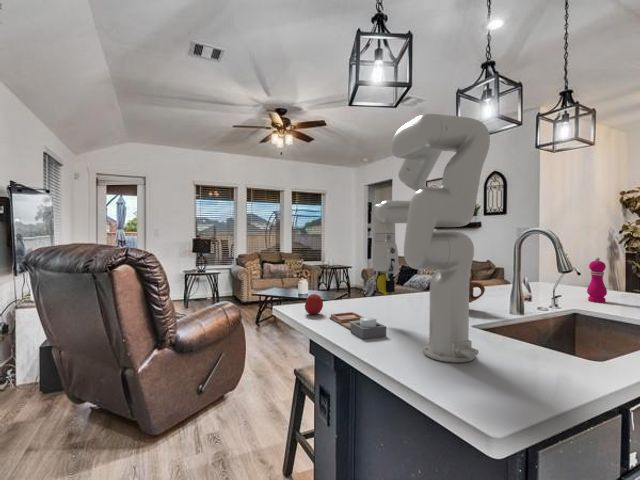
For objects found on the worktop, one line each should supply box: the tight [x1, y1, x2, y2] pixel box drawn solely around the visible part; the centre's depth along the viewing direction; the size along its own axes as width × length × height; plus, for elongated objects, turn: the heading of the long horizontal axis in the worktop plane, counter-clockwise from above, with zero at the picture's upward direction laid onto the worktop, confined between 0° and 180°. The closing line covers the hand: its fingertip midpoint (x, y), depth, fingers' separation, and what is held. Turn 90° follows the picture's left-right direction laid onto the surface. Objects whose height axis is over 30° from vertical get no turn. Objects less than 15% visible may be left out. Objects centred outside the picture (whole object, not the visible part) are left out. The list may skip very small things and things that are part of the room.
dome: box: [360, 316, 377, 328], centre depth 112 cm, size 5×5×4 cm
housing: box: [350, 321, 387, 340], centre depth 112 cm, size 8×8×3 cm
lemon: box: [377, 272, 390, 296], centre depth 127 cm, size 6×6×8 cm
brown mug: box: [469, 276, 486, 304], centre depth 148 cm, size 20×12×14 cm, turn 53°
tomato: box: [303, 293, 324, 316], centre depth 140 cm, size 8×8×8 cm
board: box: [329, 311, 365, 331], centre depth 126 cm, size 19×10×2 cm, turn 22°
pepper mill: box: [586, 256, 608, 304], centre depth 165 cm, size 7×7×20 cm
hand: (385, 290), depth 127 cm, fingers closed on lemon, 5 cm apart
